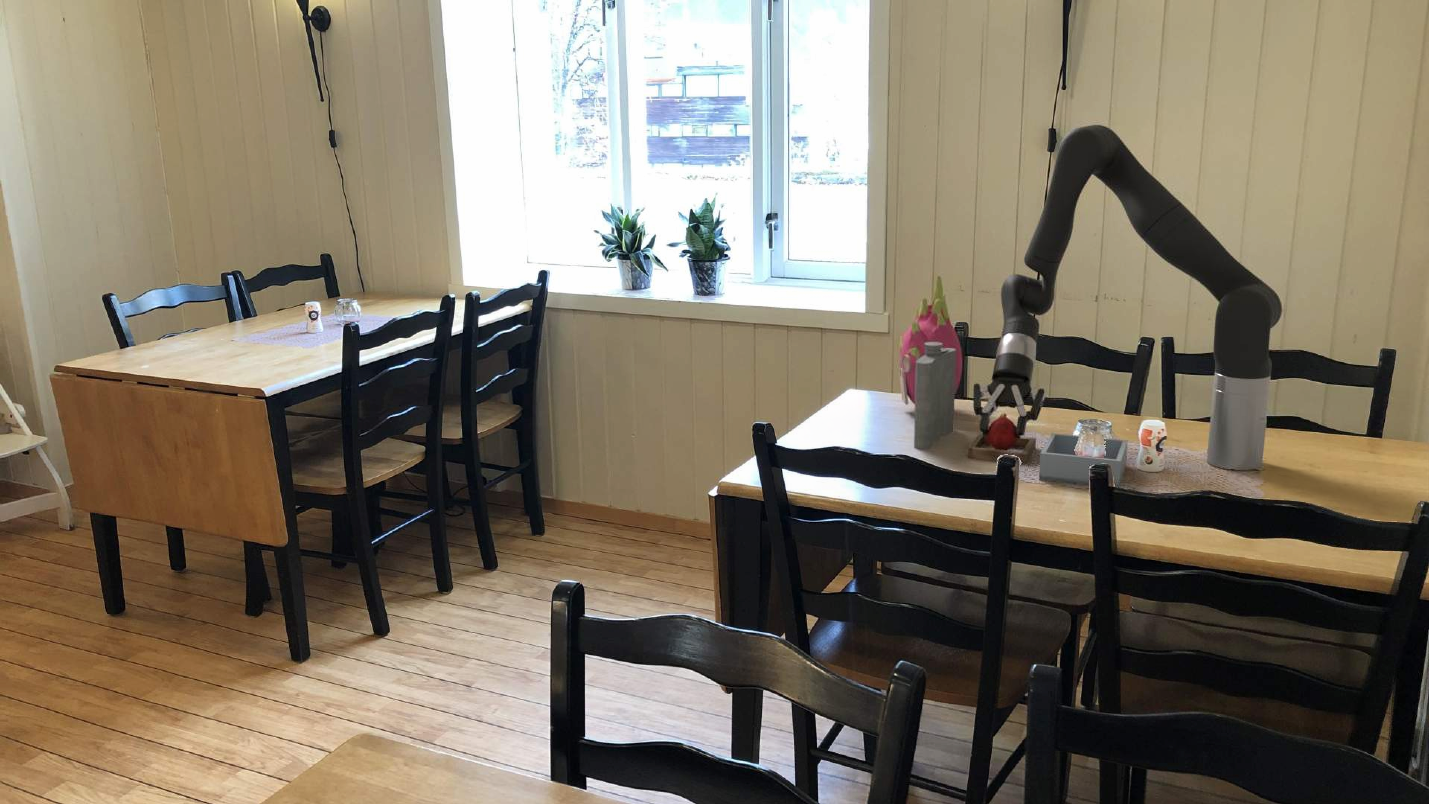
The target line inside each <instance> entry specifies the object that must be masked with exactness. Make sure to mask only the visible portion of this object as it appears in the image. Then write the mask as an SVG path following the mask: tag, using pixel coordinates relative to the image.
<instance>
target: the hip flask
mask: <svg viewBox="0 0 1429 804" xmlns="http://www.w3.org/2000/svg"><path fill="white" fill-rule="evenodd" d="M924 348H926V349H925V353H926V355H924V356H922V357H921V358H919V359H918V360H917V361H916V378H915V404H914V425H913V426H914V431H913V434H914V435H913V448H914V449H916V450H922V449H924V450H929V449H931V447H932V445H934V444H935V443H936V442H937V441H939V440H940V439H942V438H944V437H945V435H946V436H947V434H948V435H950V434H953V433H954V430H955V429H954V426H955V425H954V423H955V422H954V421H955V394H956V393H955V365H956V349H953V348H943V344H942V343H939V342H927V343H924ZM941 348H942V349H941ZM952 432H953V433H952ZM941 437H942V438H941Z"/></svg>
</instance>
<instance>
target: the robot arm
mask: <svg viewBox="0 0 1429 804" xmlns="http://www.w3.org/2000/svg"><path fill="white" fill-rule="evenodd" d="M1092 175H1093V176H1094V177H1096V178H1097V179H1098V180H1100V181H1101V182H1102V183H1103V184H1104V185H1105V186H1106V187H1107V188H1108V189H1109V190H1111V192H1112V193H1113V194H1114V195H1115V196H1116V197H1117V199H1118V200H1119V202H1120V203H1121V205H1122V207H1123V209H1124V212H1125V213H1126V216H1127V218H1128V221H1129V222H1130V224H1131V226H1132V228H1133V229H1134V231H1135V233H1136V234H1137V235H1138V236H1139V237H1140V238H1141V239H1142V241H1143V242H1145V243H1146V244H1147V245H1148V246H1149V248H1150V249H1152V251H1154V253H1155V254H1157V255H1158V256H1159V257H1160V258H1161V259H1163V260H1164V261H1165V262H1166V263H1167V264H1169V265H1171V266H1173V267H1174V268H1175V269H1177V270H1179V271H1181V272H1182V273H1184V274H1186V275H1188V276H1189V277H1191V278H1192V279H1194V280H1196V281H1197V282H1198V283H1199V284H1201V285H1202V286H1203V287H1204V288H1205V289H1207V291H1208V292H1209V293H1210V294H1211V295H1212V296H1213V297H1214V299H1216V301H1217V302H1218V305H1217V307H1216V311H1215V320H1214V331H1213V332H1214V335H1213V350H1212V351H1213V358H1214V362H1215V364H1214V365H1215V366H1214V367H1215V368H1214V377H1213V378H1214V380H1213V389H1212V390H1213V391H1212V400H1211V412H1210V419H1209V421H1210V422H1209V432H1208V441H1207V442H1208V443H1207V452H1206V453H1207V455H1206V462H1207V463H1208V464H1210V465H1212V466H1214V467H1217V468H1221V469H1225V470H1231V469H1235V470H1234V471H1248V470H1247V469H1262V468H1263V460H1264V449H1265V439H1266V432H1267V422H1268V421H1267V418H1268V417H1267V414H1268V406H1269V405H1268V404H1269V395H1270V394H1269V393H1270V386H1271V385H1270V384H1271V375H1272V367H1273V361H1272V360H1271V358H1270V354H1269V353H1270V352H1269V350H1270V337H1271V336H1270V335H1271V329H1272V328H1274V327H1275V326H1277V324H1278V323H1279V321H1280V319H1281V316H1282V314H1283V313H1282V312H1283V305H1282V302H1281V299H1280V297H1279V296H1278V294H1277V293H1276V291H1275V290H1274V289H1272V287H1270V286H1269V285H1268V284H1267V283H1265V282H1264V281H1263V280H1262V279H1261V278H1259V277H1258V276H1257V275H1255V274H1254V273H1253V272H1251V270H1249V269H1248V268H1247V267H1245V266H1244V265H1243V264H1242V263H1240V262H1239V261H1238V260H1237V259H1236V258H1235V257H1234V256H1232V254H1231V253H1230V252H1229V251H1228V250H1227V249H1226V248H1225V247H1224V245H1223V244H1222V243H1221V242H1220V241H1219V240H1218V239H1217V237H1215V236H1214V235H1213V234H1212V233H1211V232H1210V231H1209V230H1208V228H1207V227H1206V226H1205V225H1203V223H1202V222H1201V221H1200V220H1199V219H1198V218H1197V217H1196V216H1195V215H1194V214H1193V212H1191V211H1190V209H1188V208H1187V206H1185V205H1184V204H1183V203H1182V202H1181V201H1180V200H1179V198H1176V196H1175V195H1173V194H1172V193H1171V192H1170V190H1168V189H1167V188H1166V187H1165V186H1164V185H1163V184H1162V183H1161V182H1160V181H1159V180H1158V179H1156V178H1155V177H1154V176H1153V175H1152V174H1151V173H1150V172H1149V171H1148V170H1147V169H1146V168H1145V167H1144V166H1143V164H1141V163H1140V161H1138V159H1137V158H1136V157H1135V156H1134V154H1133V153H1132V151H1131V150H1130V149H1129V148H1128V146H1127V145H1126V144H1125V143H1124V141H1123V140H1122V139H1121V138H1120V136H1119V135H1118V134H1117V133H1116V132H1114V130H1113V129H1111V128H1109V127H1108V126H1105V125H1102V124H1090V125H1087V126H1086V125H1085V126H1080V127H1077V128H1074V129H1072V130H1070V131H1069V132H1068V133H1066V135H1064V136H1063V138H1062V140H1061V142H1060V145H1059V148H1058V150H1057V154H1056V159H1055V164H1054V168H1053V173H1052V177H1051V181H1050V183H1049V184H1050V185H1049V189H1048V193H1047V196H1046V200H1045V202H1044V205H1043V209H1042V211H1041V215H1040V216H1039V217H1040V218H1039V220H1038V222H1037V226H1036V228H1035V229H1034V232H1033V235H1032V238H1031V240H1030V243H1029V245H1028V247H1027V250H1026V252H1025V254H1024V259H1023V261H1024V265H1025V266H1026V267H1027V268H1029V269H1031V270H1032V271H1033V272H1036V273H1037V274H1039V275H1040V276H1041V277H1042V279H1041V280H1039V279H1037V278H1033V277H1031V276H1026V275H1022V274H1019V273H1013V274H1011V275H1009V276H1008V277H1007V278H1005V279H1004V282H1003V283H1002V286H1001V290H1000V299H1001V300H1000V301H1001V307H1002V314H1003V315H1002V317H1003V326H1002V331H1001V338H1000V341H999V344H998V347H997V350H996V355H995V356H996V357H995V360H994V365H993V371H992V376H991V380H990V382H989V383H988V384H987V385H981V384H979V383H974V384H973V402H972V403H973V412H974V415H976V416H980V422H979V429H980V433H983V435H987V432H988V428H989V426H990V421H991V419H990V417H991V416H992V415H993V414H994V412H996V411H998V409H999V407H1000V408H1005V407H1008V408H1012V409H1016V410H1017V412H1018V415H1019V416H1018V418H1017V422H1016V438H1020V437H1024V435H1025V432H1026V428H1027V423H1028V421H1034V422H1035V421H1037V420H1038V418H1039V415H1040V413H1041V410H1042V408H1043V405H1044V402H1045V399H1046V393H1045V389H1044V388H1039V389H1036V388H1035V389H1034V388H1032V385H1031V384H1032V377H1033V372H1034V367H1035V365H1036V357H1037V356H1036V355H1037V344H1038V338H1039V332H1040V323H1039V320H1038V319H1037V317H1035V316H1043V315H1045V314H1046V313H1048V312H1049V310H1051V308H1052V306H1053V304H1054V297H1055V286H1056V279H1057V276H1058V270H1059V267H1060V264H1061V263H1062V260H1063V259H1064V258H1063V257H1064V256H1065V253H1066V251H1067V248H1068V247H1069V243H1070V241H1071V238H1072V233H1073V230H1074V221H1075V213H1076V208H1077V204H1078V201H1079V198H1080V196H1081V193H1082V192H1083V190H1084V188H1085V186H1086V184H1087V183H1088V182H1089V180H1090V178H1091V177H1092ZM986 393H988V394H989V395H990V397H989V398H988V400H987V402H986V404H985V405H984V406H982V398H984V397H985V395H986ZM1031 396H1032V400H1033V403H1032V406H1031V408H1030V410H1026V408H1025V404H1024V403H1025V401H1026V400H1027V399H1029V398H1030V397H1031Z"/></svg>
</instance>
